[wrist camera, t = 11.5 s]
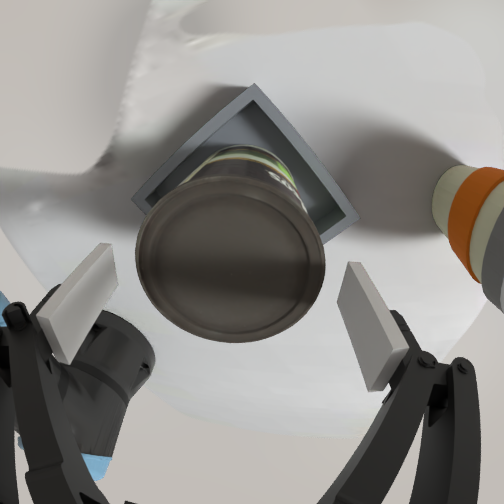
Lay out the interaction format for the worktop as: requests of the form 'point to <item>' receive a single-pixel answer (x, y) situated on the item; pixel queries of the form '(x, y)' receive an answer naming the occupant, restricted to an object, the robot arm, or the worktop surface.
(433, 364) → the robot arm
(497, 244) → the reusable coffee cup
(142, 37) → the worktop surface
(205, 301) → the coffee can
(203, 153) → the housing tray
